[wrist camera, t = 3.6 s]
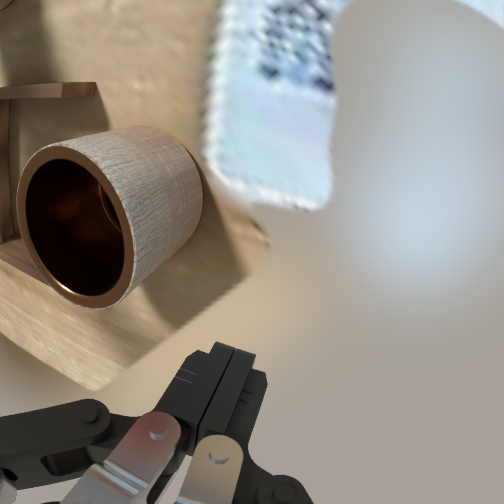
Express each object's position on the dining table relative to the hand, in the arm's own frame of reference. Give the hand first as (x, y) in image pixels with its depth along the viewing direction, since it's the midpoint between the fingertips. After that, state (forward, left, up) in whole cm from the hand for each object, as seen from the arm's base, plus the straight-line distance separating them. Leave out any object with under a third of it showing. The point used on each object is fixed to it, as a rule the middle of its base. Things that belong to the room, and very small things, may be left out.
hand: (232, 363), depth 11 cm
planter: (0, -12, -14) cm, 19 cm away
